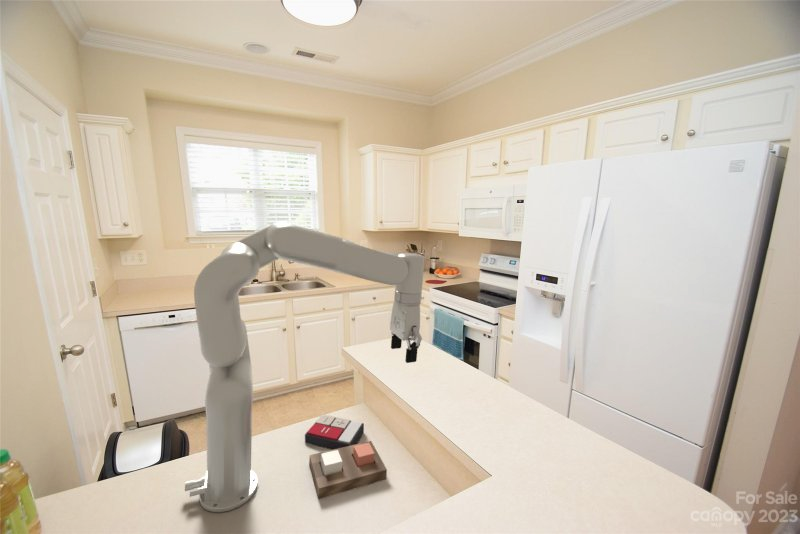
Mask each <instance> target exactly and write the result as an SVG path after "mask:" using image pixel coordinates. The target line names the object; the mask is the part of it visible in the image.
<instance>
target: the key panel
mask: <svg viewBox="0 0 800 534" xmlns="http://www.w3.org/2000/svg"><path fill="white" fill-rule="evenodd" d="M365 443H369V444H370V446H371V447H372V449H373V451H374V453H375V455H374V463H372V464H368V465H364V466H361V467H357V466H356V463H355V461H354V459H353V449H354V446H357V445H361V444H365ZM335 450H338V452H339V454H340V457H341V459H342V472H338V473H334V474H330V475H327V476H323V474H322V470H321V454H323V453H327V452H331V451H335ZM308 460H309V461H308V462H309V463H308V465H309V469H310V474H311V477H312V481H313V484H314V489H315V492H316V496H317V500H320V499H321V500H322V499H324V498H325V499H326V498H328V497H331V496H335V495H337V494H341V493H345V492H349V491H352V490H355V489H358V488H361V487H366V486H368V485H372V484H375V483H379V482H382V481H385V480H387V472H388V469H387V467H386V465H385V464H384V462H383V459H382V458H381V456H380V454H379V452H378V451H377V449H376V447H375V445H374V443H373V441H372V440H368V441H365V442H361V443H360V442H359V443H357V444H355V445H351V446H347V447H342V448H338V449H334V450H332V449H328V450H325V451H321V452H317V453H312V454H309V459H308Z"/></svg>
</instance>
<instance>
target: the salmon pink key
mask: <svg viewBox="0 0 800 534" xmlns="http://www.w3.org/2000/svg"><path fill="white" fill-rule="evenodd" d="M374 455H375V453H374V451H373V449H372V447H371V446H370V444H369V443H365V444H361V445H357V446H354V449H353V459H354V461H355V463H356V466H357V467H361V466H364V465H368V464H372V463H374Z"/></svg>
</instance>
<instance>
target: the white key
mask: <svg viewBox="0 0 800 534" xmlns="http://www.w3.org/2000/svg"><path fill="white" fill-rule="evenodd" d="M321 470H322V474H323V476H327V475H330V474H334V473H338V472H342V459H341V457H340V454H339V452H338V450H335V451H331V452H327V453H323V454H321Z"/></svg>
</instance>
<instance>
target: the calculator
mask: <svg viewBox="0 0 800 534" xmlns="http://www.w3.org/2000/svg"><path fill="white" fill-rule="evenodd" d="M364 426H365V424H364V423H363V422H361V421H355V420H351V419H348V418H343V417H339V416H337V417H336V416H333V415H328V414H321V416H319V418H318V419H317V420H316V422H314V423H313V424H312V426H311V427H309V429H308V430H307V431H306V432H305V433H304V443H305V442H306V444H309V445H313V446H315V447H316V446H317V447H319V448H324V449H328V450H334V449H338V448H342V447H347V446H351V445H355V444H359V443H360V441H361V440H360V439H362V437H363V435H364V432H365V427H364Z"/></svg>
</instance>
